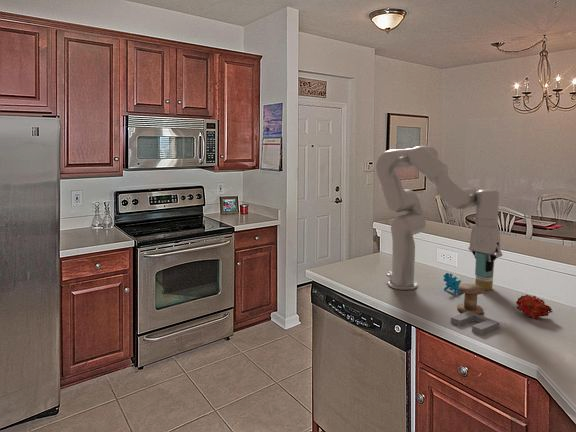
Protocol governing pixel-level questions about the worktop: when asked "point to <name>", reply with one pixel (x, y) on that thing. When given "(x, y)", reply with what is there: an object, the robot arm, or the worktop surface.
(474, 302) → the door knob
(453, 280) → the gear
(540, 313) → the dragon fruit
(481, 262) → the teal tab
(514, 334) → the worktop surface
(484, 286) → the paper tube
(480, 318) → the notched board
